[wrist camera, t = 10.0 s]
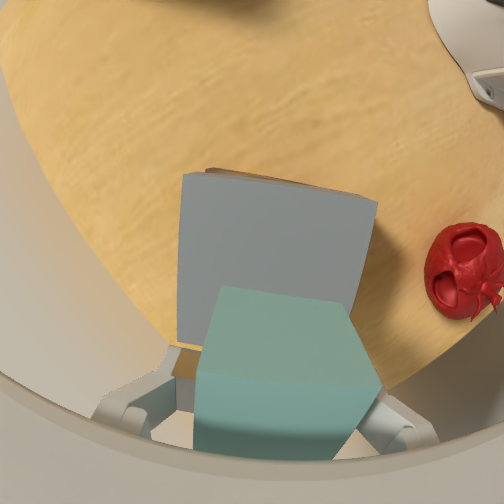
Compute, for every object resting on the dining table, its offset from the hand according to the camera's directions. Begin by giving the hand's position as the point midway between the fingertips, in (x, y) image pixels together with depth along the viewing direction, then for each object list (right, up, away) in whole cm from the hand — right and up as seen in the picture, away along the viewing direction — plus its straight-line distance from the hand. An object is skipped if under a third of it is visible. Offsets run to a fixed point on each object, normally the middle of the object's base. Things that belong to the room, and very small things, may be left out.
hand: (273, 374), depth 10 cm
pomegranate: (+21, +4, +15) cm, 26 cm away
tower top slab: (0, +4, +12) cm, 13 cm away
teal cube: (0, +1, +2) cm, 2 cm away
